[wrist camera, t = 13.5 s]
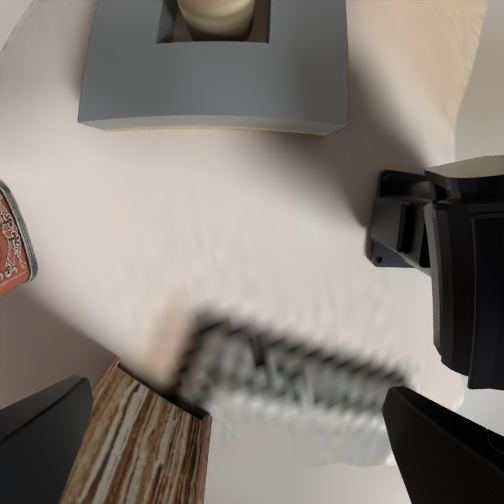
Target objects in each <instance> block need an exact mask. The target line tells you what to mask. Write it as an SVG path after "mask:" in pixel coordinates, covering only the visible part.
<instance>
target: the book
mask: <svg viewBox="0 0 504 504" xmlns="http://www.w3.org/2000/svg"><path fill="white" fill-rule="evenodd" d="M119 362H120V360H119V359H117V358H115V359H114V360H113V361H112V363H111V364H110V366H109V367H108V368H107V370H106V371H105V373H104V374H103V376H102V377H101V378H100V380H99V381H98V383H97V384H96V386H95V387H94V389H93V390H92V395H93V400H94V402H93V407H92V411H91V414H90V417H89V421H88V424H87V428H86V431H85V435H84V438H83V442H82V445H81V447H80V450H79V452H78V455H77V457H76V460H75V462H74V465H73V467H72V470H71V472H70V475H69V478H68V480H67V483H66V486H65V488H64V491H63V494H62V496H61V499H60V502H59V504H203V503H204V493H205V483H206V473H207V463H208V453H209V443H210V434H211V424H212V417H211V416H209V415H208V414H207V415H205V416H204V417H203V418H202V419H201V420H199V419H198V418H196V417H194V416H192V415H191V414H189V413H187V412H186V411H184V410H182V409H181V408H179V407H177V406H176V405H174V404H172V403H171V402H169V401H167V400H166V399H164V398H163V397H161V396H160V395H158V394H156V393H155V392H153V391H152V390H150V389H149V388H147V387H146V386H144V385H143V384H141V383H140V382H138V381H137V380H135V379H134V378H132V377H131V376H130V375H128V374H127V373H125V372H124V371H123V370H121V369H120V368H118V367H117V365H118V363H119Z"/></svg>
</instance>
